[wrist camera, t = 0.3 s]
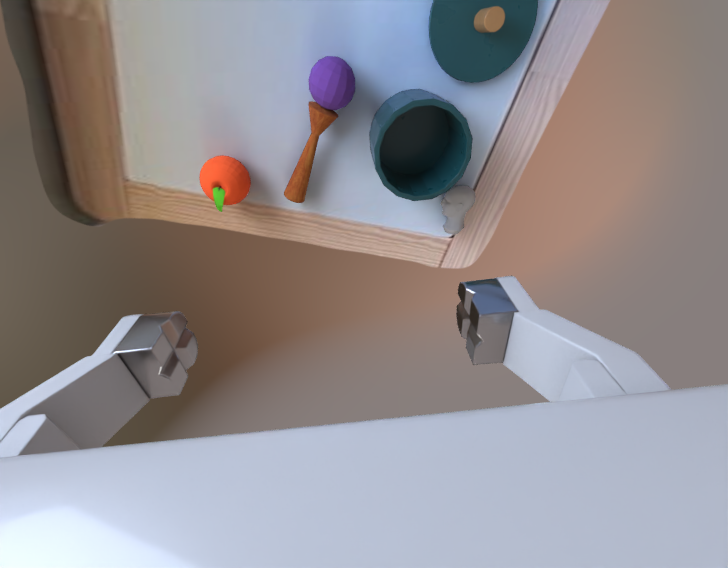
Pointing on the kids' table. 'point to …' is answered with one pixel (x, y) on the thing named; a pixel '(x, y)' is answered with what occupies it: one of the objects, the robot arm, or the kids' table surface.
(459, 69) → the lid
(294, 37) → the kids' table surface
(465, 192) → the smooth white sculpture
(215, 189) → the clementine
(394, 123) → the pot
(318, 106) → the kendama
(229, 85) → the kids' table surface
